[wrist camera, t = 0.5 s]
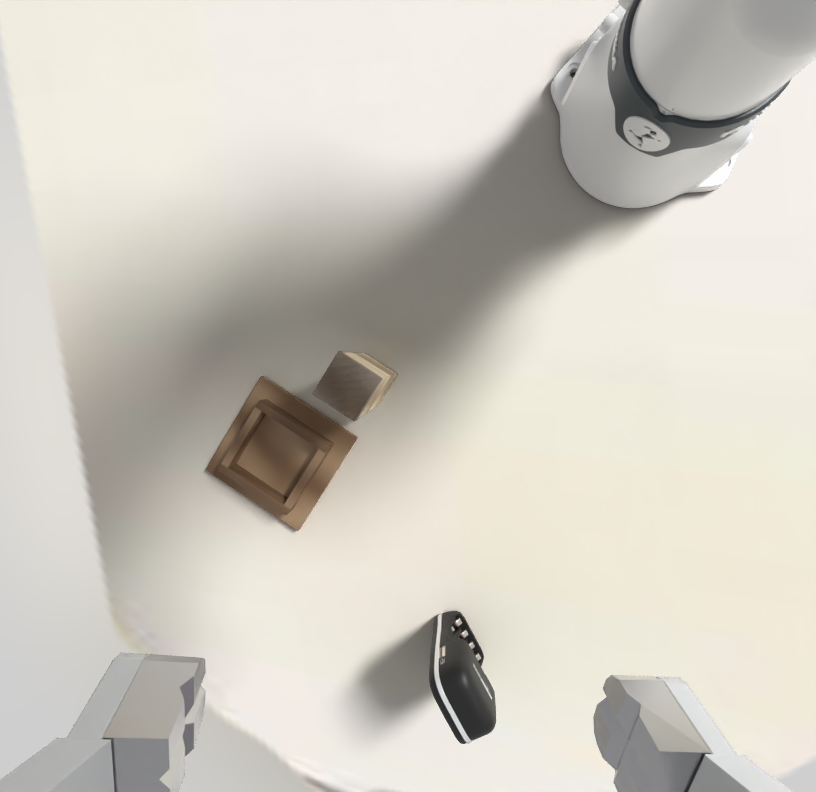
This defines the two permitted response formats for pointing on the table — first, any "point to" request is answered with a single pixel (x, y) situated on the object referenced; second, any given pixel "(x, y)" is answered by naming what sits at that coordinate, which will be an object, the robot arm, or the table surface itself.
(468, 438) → the table surface
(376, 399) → the tall wooden pillar
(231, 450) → the dock
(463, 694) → the battery charger
